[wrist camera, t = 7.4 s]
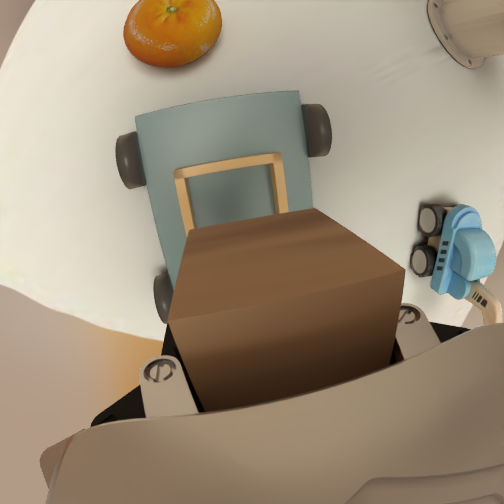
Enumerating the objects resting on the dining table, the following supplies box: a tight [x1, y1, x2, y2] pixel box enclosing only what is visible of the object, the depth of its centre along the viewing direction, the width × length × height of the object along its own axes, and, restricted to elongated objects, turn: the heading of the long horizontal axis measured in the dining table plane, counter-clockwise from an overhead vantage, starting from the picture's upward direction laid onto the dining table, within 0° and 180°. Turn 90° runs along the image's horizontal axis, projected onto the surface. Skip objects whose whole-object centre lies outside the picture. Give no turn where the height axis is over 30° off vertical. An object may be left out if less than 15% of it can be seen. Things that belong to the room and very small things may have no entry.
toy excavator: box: [410, 204, 502, 325], centre depth 25 cm, size 9×17×17 cm, turn 1°
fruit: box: [124, 0, 222, 67], centre depth 17 cm, size 8×8×8 cm
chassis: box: [116, 91, 332, 324], centre depth 25 cm, size 22×18×5 cm
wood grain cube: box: [167, 208, 405, 412], centre depth 9 cm, size 7×5×6 cm
